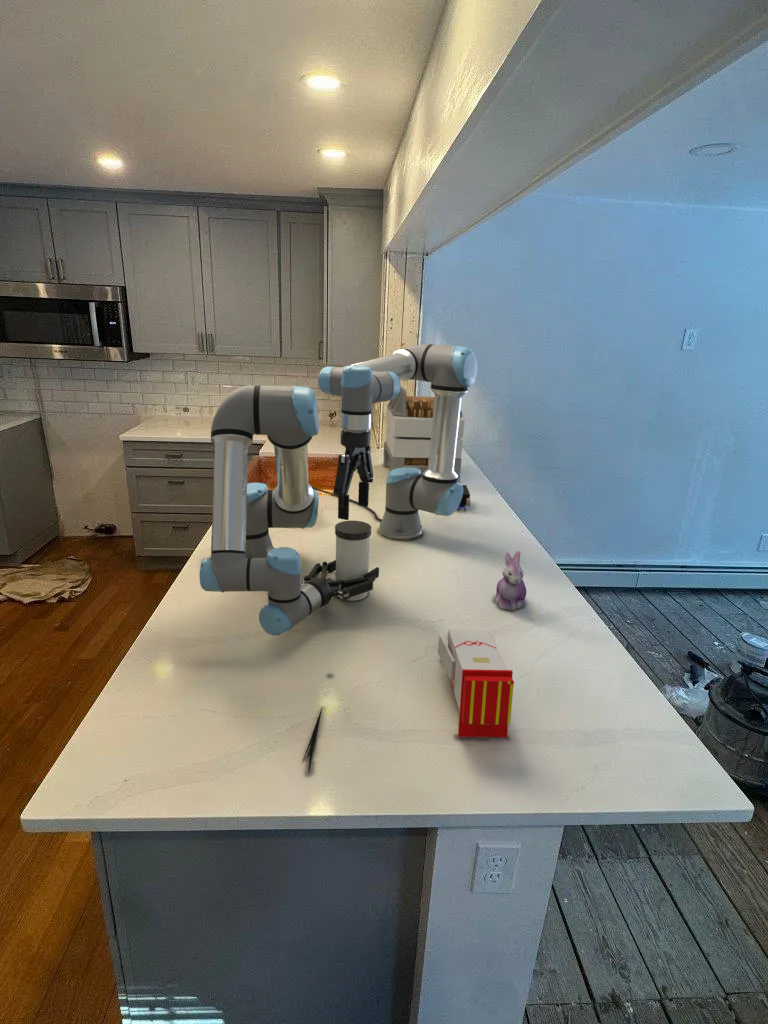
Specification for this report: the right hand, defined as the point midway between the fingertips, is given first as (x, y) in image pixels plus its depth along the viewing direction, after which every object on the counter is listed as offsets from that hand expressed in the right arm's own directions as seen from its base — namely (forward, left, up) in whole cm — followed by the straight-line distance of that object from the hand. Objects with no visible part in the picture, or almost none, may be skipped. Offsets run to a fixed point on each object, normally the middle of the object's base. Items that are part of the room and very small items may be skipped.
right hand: (353, 512), depth 149 cm
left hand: (-1, +4, -17) cm, 18 cm away
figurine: (+30, +32, -24) cm, 50 cm away
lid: (0, 0, -5) cm, 5 cm away
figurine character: (-33, +81, -24) cm, 90 cm away
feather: (+37, -36, -24) cm, 57 cm away
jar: (0, 0, -24) cm, 24 cm away
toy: (+49, -7, -24) cm, 55 cm away
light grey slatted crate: (-77, +101, -24) cm, 130 cm away
